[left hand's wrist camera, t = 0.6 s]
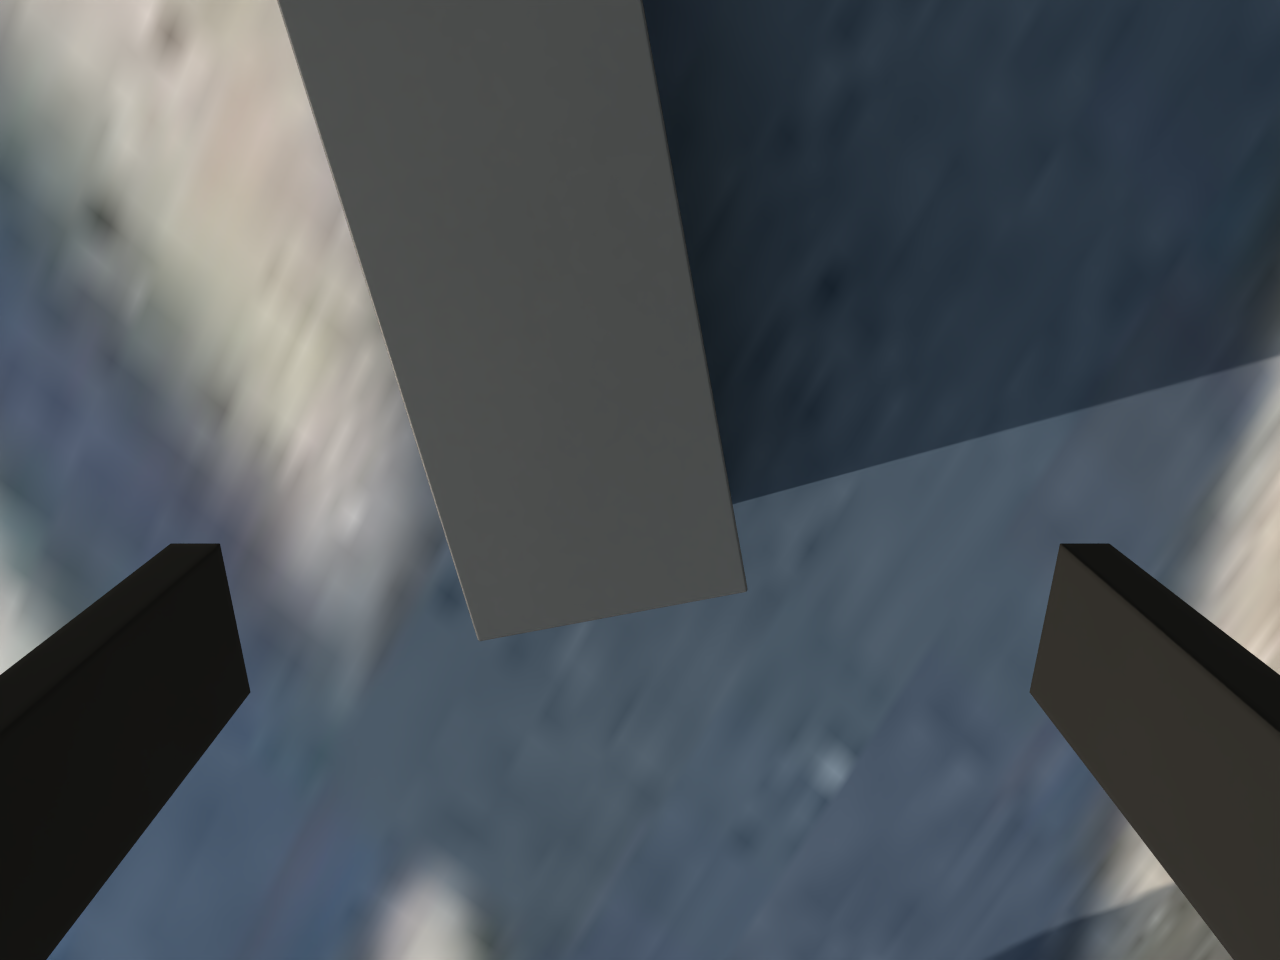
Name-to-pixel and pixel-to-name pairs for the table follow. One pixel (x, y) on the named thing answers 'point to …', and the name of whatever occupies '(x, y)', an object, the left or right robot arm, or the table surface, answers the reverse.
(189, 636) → the left robot arm
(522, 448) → the wide beam
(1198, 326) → the table surface
